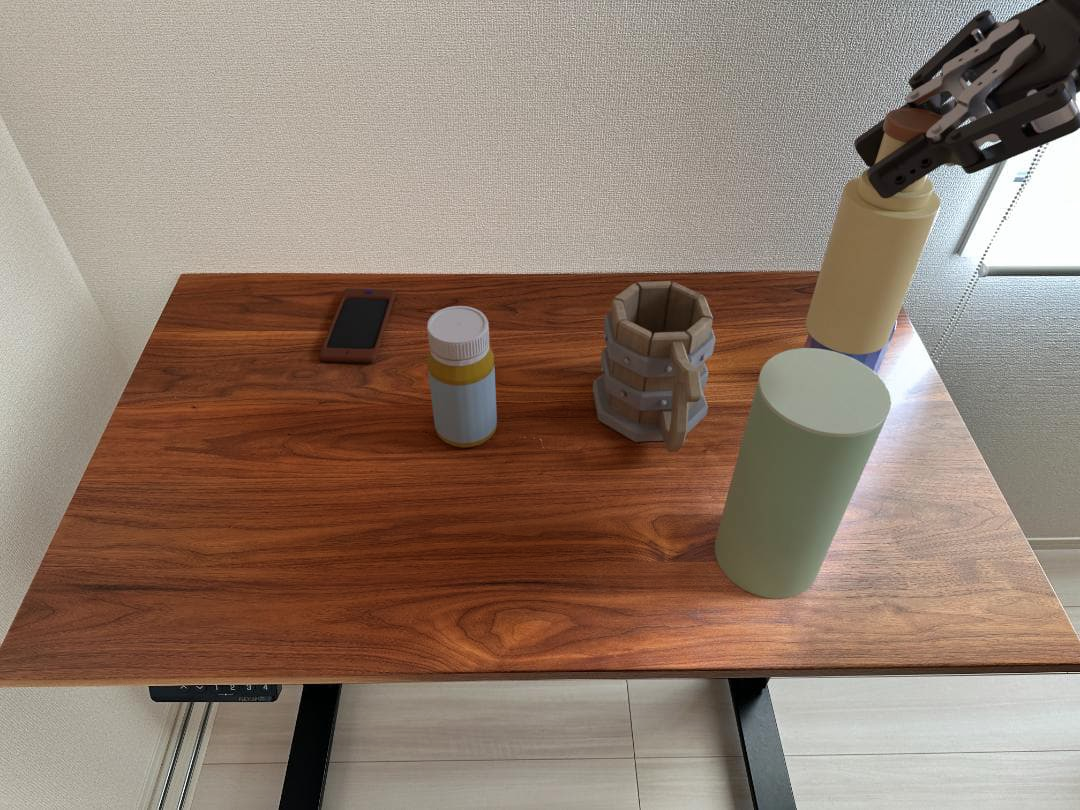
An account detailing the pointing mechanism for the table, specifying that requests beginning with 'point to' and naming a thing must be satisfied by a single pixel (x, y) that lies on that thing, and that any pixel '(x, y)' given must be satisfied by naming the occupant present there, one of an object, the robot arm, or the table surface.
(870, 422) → the green stand
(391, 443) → the table surface
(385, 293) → the smartphone
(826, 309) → the cream bottle
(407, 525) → the table surface
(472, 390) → the bottle
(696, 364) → the tankard
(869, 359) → the blue cup
